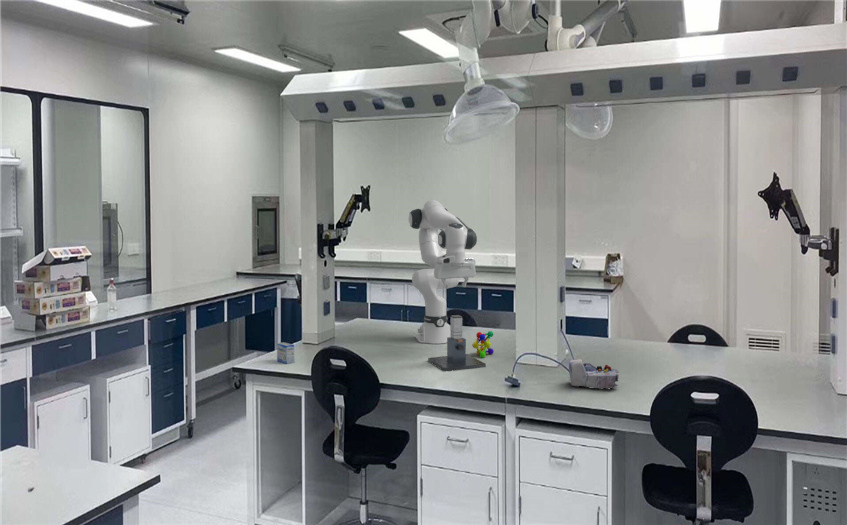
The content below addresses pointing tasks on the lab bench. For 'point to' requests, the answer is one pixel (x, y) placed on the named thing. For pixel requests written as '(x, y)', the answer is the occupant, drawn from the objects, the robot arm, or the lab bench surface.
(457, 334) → the post
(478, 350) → the molecular model
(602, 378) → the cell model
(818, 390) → the lab bench surface
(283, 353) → the medicine box
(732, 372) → the lab bench surface
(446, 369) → the dark grey socket base
